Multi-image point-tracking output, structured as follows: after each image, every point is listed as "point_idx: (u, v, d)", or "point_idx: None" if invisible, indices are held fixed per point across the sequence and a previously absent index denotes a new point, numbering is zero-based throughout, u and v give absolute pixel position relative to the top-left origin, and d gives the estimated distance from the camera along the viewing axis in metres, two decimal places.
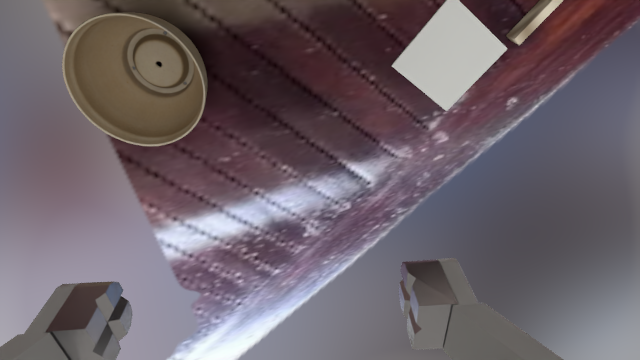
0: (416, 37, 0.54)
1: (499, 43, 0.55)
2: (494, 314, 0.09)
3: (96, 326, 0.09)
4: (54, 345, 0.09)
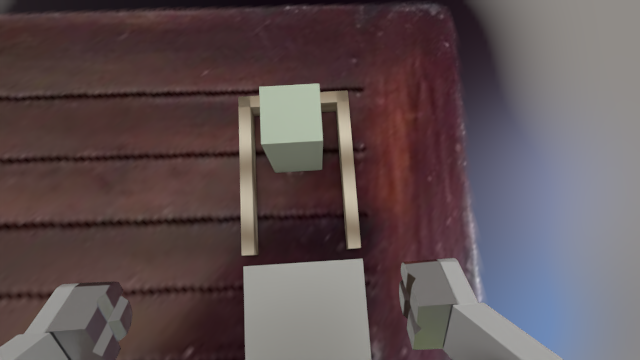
0: (245, 339, 0.36)
1: (347, 262, 0.38)
2: (494, 314, 0.09)
3: (96, 326, 0.09)
4: (54, 345, 0.09)
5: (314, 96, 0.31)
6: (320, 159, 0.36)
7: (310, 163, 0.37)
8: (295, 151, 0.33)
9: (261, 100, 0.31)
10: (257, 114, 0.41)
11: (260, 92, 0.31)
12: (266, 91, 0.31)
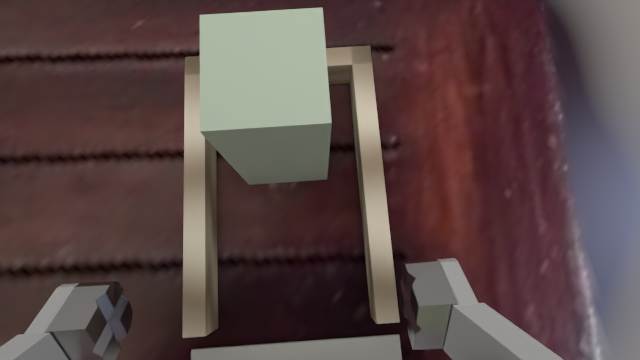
0: None
1: (372, 341, 0.22)
2: (494, 314, 0.09)
3: (96, 326, 0.09)
4: (54, 345, 0.09)
5: (313, 32, 0.15)
6: (325, 162, 0.20)
7: (307, 169, 0.21)
8: (277, 146, 0.17)
9: (203, 41, 0.15)
10: None
11: (201, 25, 0.15)
12: (215, 24, 0.15)
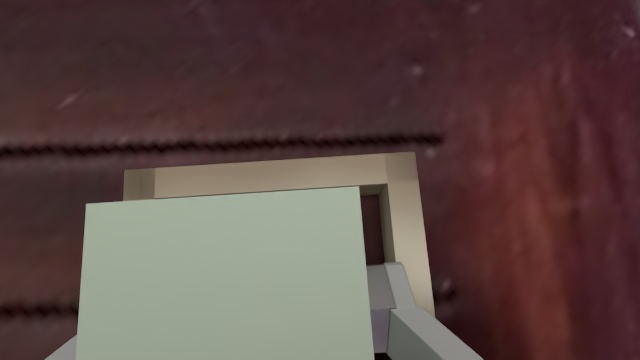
0: None
1: None
2: (430, 318, 0.09)
3: None
4: None
5: (338, 249, 0.07)
6: None
7: None
8: None
9: (90, 271, 0.07)
10: None
11: (88, 231, 0.07)
12: (119, 228, 0.07)
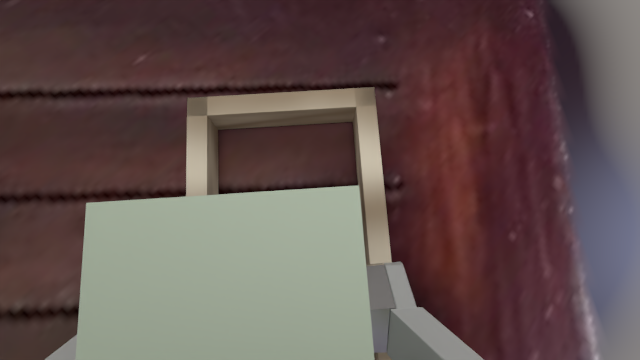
0: None
1: None
2: (430, 318, 0.09)
3: None
4: None
5: (338, 248, 0.07)
6: None
7: None
8: None
9: (90, 270, 0.07)
10: (223, 127, 0.25)
11: (88, 230, 0.07)
12: (119, 227, 0.07)
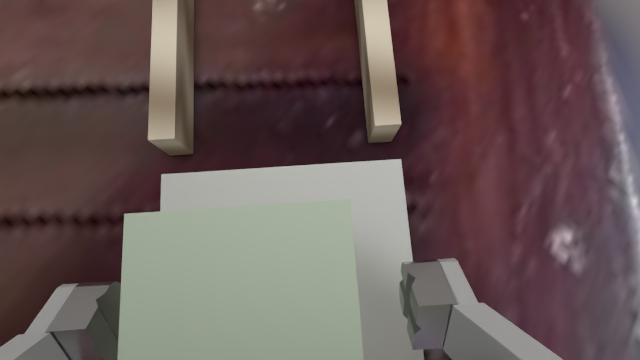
0: None
1: (370, 165, 0.19)
2: (494, 314, 0.09)
3: (96, 326, 0.09)
4: (54, 345, 0.09)
5: (333, 251, 0.08)
6: None
7: None
8: None
9: (128, 269, 0.08)
10: None
11: (126, 237, 0.08)
12: (151, 234, 0.08)
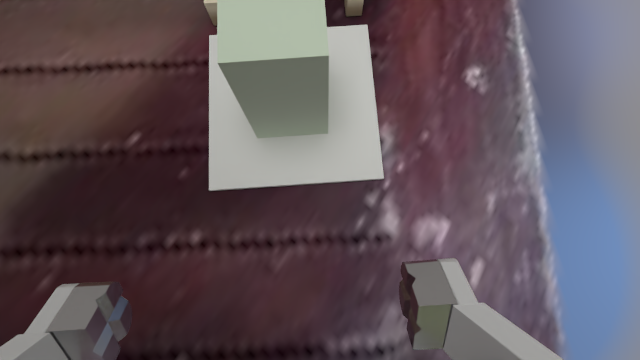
0: (210, 119, 0.27)
1: (346, 28, 0.28)
2: (494, 314, 0.09)
3: (96, 326, 0.09)
4: (54, 345, 0.09)
5: None
6: (325, 108, 0.22)
7: (309, 118, 0.24)
8: (282, 85, 0.19)
9: None
10: None
11: None
12: None
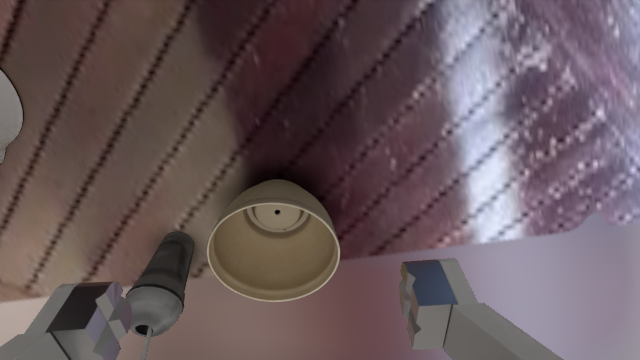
0: None
1: None
2: (494, 314, 0.09)
3: (96, 326, 0.09)
4: (54, 345, 0.09)
5: None
6: None
7: None
8: None
9: None
10: None
11: None
12: None
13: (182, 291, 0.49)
